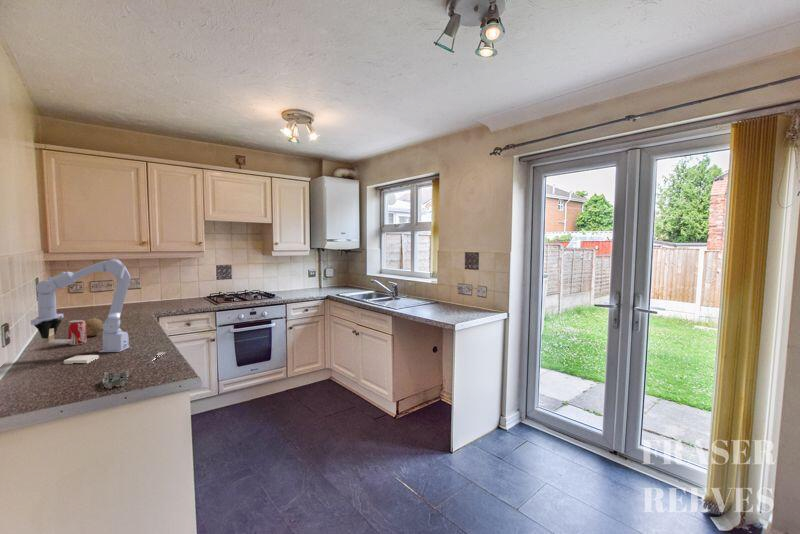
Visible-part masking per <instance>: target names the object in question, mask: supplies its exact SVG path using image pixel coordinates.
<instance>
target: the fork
mask: <svg viewBox="0 0 800 534" xmlns="http://www.w3.org/2000/svg"><path fill="white" fill-rule="evenodd" d="M161 354H162V355H163V354H164V355H165V352H163V351H162V352H161V351H158V352H157V354H156V355H158V356H159V355H161ZM155 359H156V358H155V357H154V358H153V359H152V360H151V361H153V360H155Z"/></svg>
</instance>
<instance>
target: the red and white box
mask: <svg viewBox="0 0 800 534" xmlns="http://www.w3.org/2000/svg"><path fill="white" fill-rule="evenodd" d="M68 322H69V323H68V324H67V339H73V341H71V342H68V343H67V344H69V345H71V346H80V345H79V344H81V345H84V344H85V343H86V342H87V338H88V337H87V336H88V335H87V332H86V323H85V319H75V320H74V319H73V320H69V321H68ZM83 343H84V344H83Z"/></svg>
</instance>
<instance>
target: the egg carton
mask: <svg viewBox="0 0 800 534" xmlns="http://www.w3.org/2000/svg"><path fill="white" fill-rule="evenodd" d="M129 375H130V370H125V371H121V372H120V371H118V372H117V373H116V374H114V373H113V371H109V372H108V371H107V370H106V371H104V376H103V379H102V384H103V388H104V387H108V388H109V387H112V386H114V385H124V384H125V383H128V381H129V379H128V378H129V377H130V376H129ZM122 376H124V377H123V378H120V377H122ZM127 377H128V378H127ZM111 378H112V380H109V379H111ZM127 380H128V381H127ZM108 382H109V383H108ZM128 384H129V383H128ZM124 386H125V385H124Z"/></svg>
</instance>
